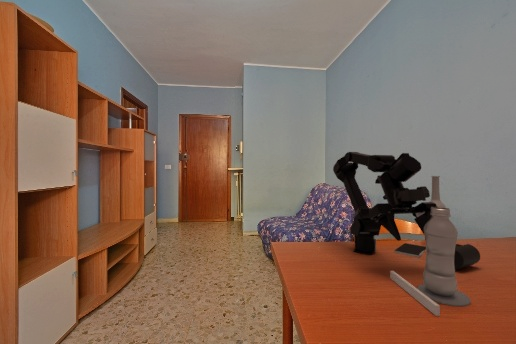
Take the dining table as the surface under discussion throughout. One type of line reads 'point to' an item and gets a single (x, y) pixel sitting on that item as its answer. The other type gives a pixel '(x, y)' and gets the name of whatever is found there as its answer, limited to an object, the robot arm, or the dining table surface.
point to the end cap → (465, 256)
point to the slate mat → (446, 297)
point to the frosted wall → (416, 293)
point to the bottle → (436, 192)
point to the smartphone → (411, 250)
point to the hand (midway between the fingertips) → (414, 239)
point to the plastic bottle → (440, 253)
